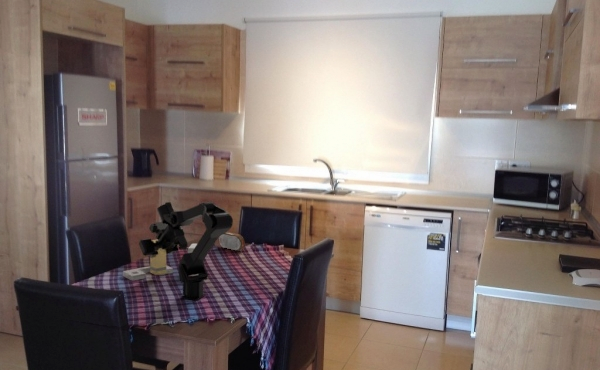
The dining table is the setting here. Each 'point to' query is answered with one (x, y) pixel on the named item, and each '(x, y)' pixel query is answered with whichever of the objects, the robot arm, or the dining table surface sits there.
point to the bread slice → (231, 241)
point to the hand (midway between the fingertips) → (156, 255)
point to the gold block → (158, 262)
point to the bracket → (142, 273)
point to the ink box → (191, 252)
